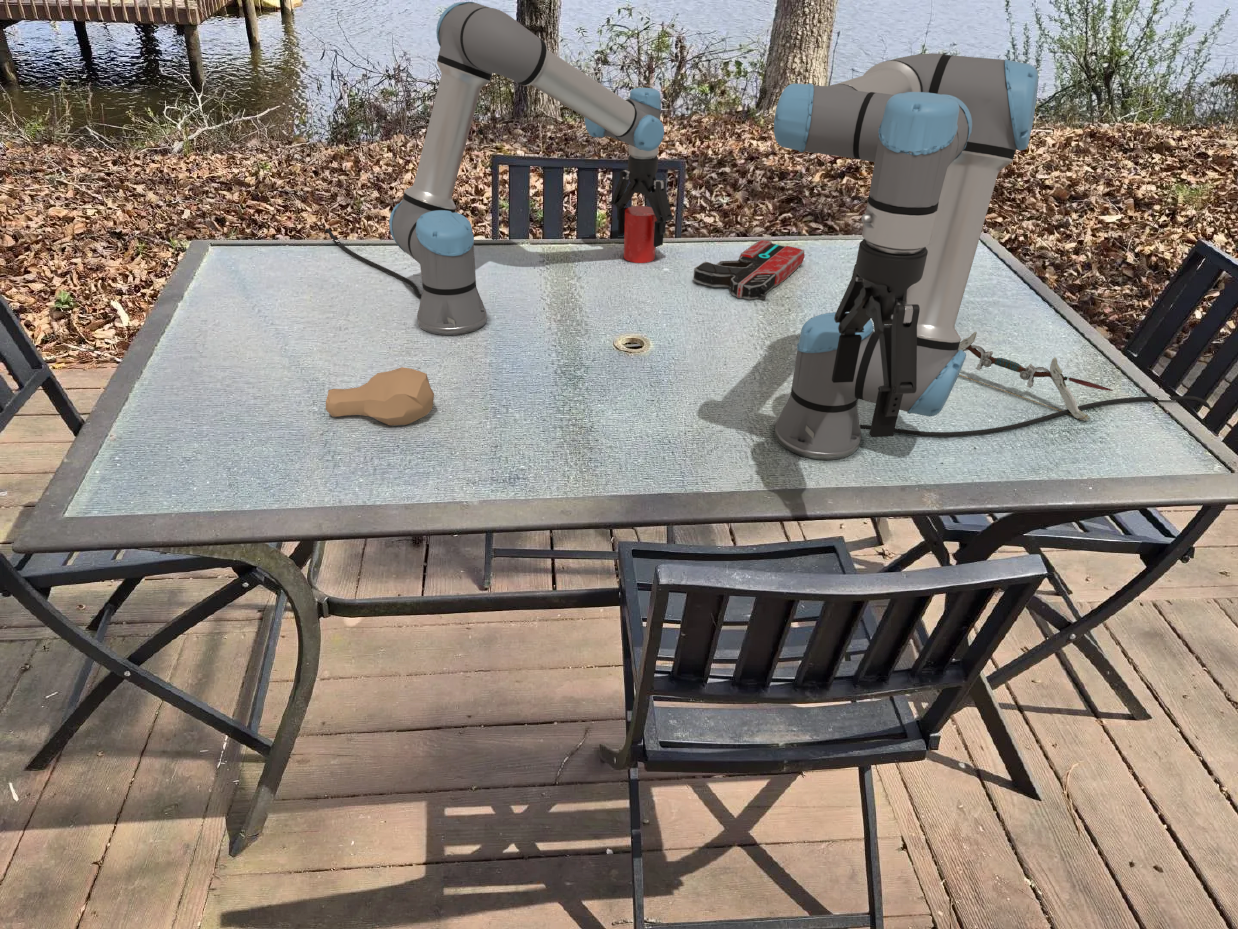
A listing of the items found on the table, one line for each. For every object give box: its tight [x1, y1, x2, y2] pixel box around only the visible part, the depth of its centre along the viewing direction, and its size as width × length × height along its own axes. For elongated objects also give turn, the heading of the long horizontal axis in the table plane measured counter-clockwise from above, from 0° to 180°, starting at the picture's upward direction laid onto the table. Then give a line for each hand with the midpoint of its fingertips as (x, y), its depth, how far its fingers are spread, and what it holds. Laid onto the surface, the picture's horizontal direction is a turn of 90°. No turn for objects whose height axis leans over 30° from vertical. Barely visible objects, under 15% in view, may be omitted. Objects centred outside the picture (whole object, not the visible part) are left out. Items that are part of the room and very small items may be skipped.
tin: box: [623, 205, 657, 264], centre depth 230 cm, size 8×8×12 cm
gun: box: [692, 239, 806, 301], centre depth 223 cm, size 4×31×19 cm
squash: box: [325, 366, 435, 427], centre depth 160 cm, size 11×20×9 cm, turn 90°
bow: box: [958, 331, 1114, 422], centre depth 173 cm, size 39×2×10 cm, turn 47°
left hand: (640, 239), depth 231 cm, fingers open, 12 cm apart
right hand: (860, 406), depth 110 cm, fingers open, 13 cm apart
